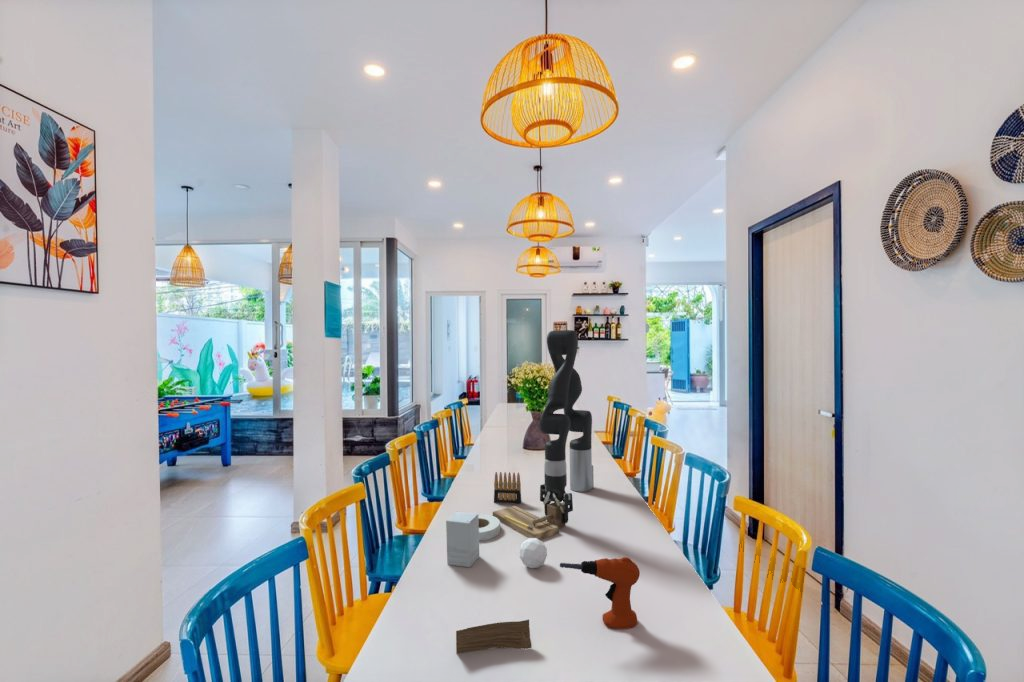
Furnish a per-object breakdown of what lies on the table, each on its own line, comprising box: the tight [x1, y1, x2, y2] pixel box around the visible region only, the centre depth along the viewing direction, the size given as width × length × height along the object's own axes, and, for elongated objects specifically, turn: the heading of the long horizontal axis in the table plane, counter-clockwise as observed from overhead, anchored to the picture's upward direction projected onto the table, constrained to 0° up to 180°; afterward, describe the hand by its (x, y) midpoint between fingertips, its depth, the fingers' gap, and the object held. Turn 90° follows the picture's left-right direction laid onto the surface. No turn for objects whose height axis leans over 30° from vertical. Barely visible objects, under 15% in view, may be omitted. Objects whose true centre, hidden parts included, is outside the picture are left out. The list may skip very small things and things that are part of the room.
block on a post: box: [532, 501, 566, 529], centre depth 152 cm, size 12×4×7 cm, turn 126°
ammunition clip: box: [493, 471, 522, 505], centre depth 177 cm, size 11×2×12 cm, turn 82°
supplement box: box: [445, 511, 480, 568], centre depth 131 cm, size 7×7×13 cm
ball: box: [519, 538, 548, 569], centre depth 127 cm, size 8×8×8 cm
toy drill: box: [559, 556, 641, 630], centre depth 101 cm, size 5×19×15 cm, turn 93°
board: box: [492, 505, 559, 540], centre depth 155 cm, size 10×24×2 cm, turn 36°
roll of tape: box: [477, 513, 501, 541], centre depth 151 cm, size 16×15×3 cm
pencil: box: [504, 515, 533, 530], centre depth 152 cm, size 1×14×1 cm, turn 41°
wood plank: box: [455, 619, 532, 655], centre depth 93 cm, size 15×2×5 cm, turn 100°
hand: (556, 519), depth 155 cm, fingers open, 8 cm apart
